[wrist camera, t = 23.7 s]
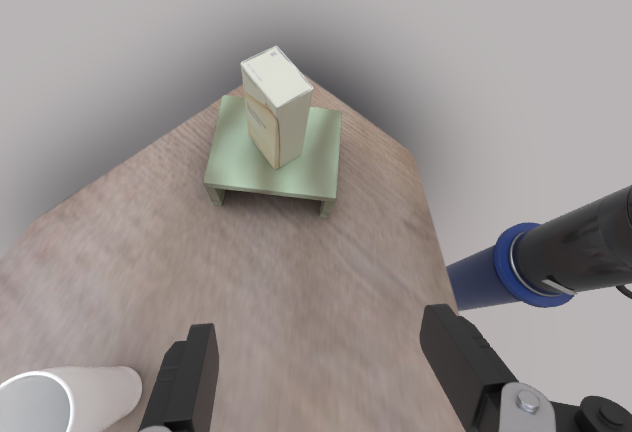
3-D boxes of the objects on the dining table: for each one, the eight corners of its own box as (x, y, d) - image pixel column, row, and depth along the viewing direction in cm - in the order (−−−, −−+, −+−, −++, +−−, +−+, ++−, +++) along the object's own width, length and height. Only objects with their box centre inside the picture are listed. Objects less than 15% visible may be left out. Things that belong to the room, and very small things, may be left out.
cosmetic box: (247, 135, 42) (236, 61, 31) (276, 119, 44) (275, 42, 32) (276, 172, 41) (275, 108, 30) (305, 154, 42) (314, 87, 31)
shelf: (334, 139, 52) (342, 110, 45) (328, 218, 47) (336, 198, 41) (230, 126, 51) (222, 94, 44) (213, 204, 46) (202, 182, 40)
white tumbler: (85, 433, 36) (-41, 493, 22) (87, 365, 38) (-26, 380, 24) (151, 418, 37) (72, 466, 23) (150, 353, 39) (77, 361, 25)
